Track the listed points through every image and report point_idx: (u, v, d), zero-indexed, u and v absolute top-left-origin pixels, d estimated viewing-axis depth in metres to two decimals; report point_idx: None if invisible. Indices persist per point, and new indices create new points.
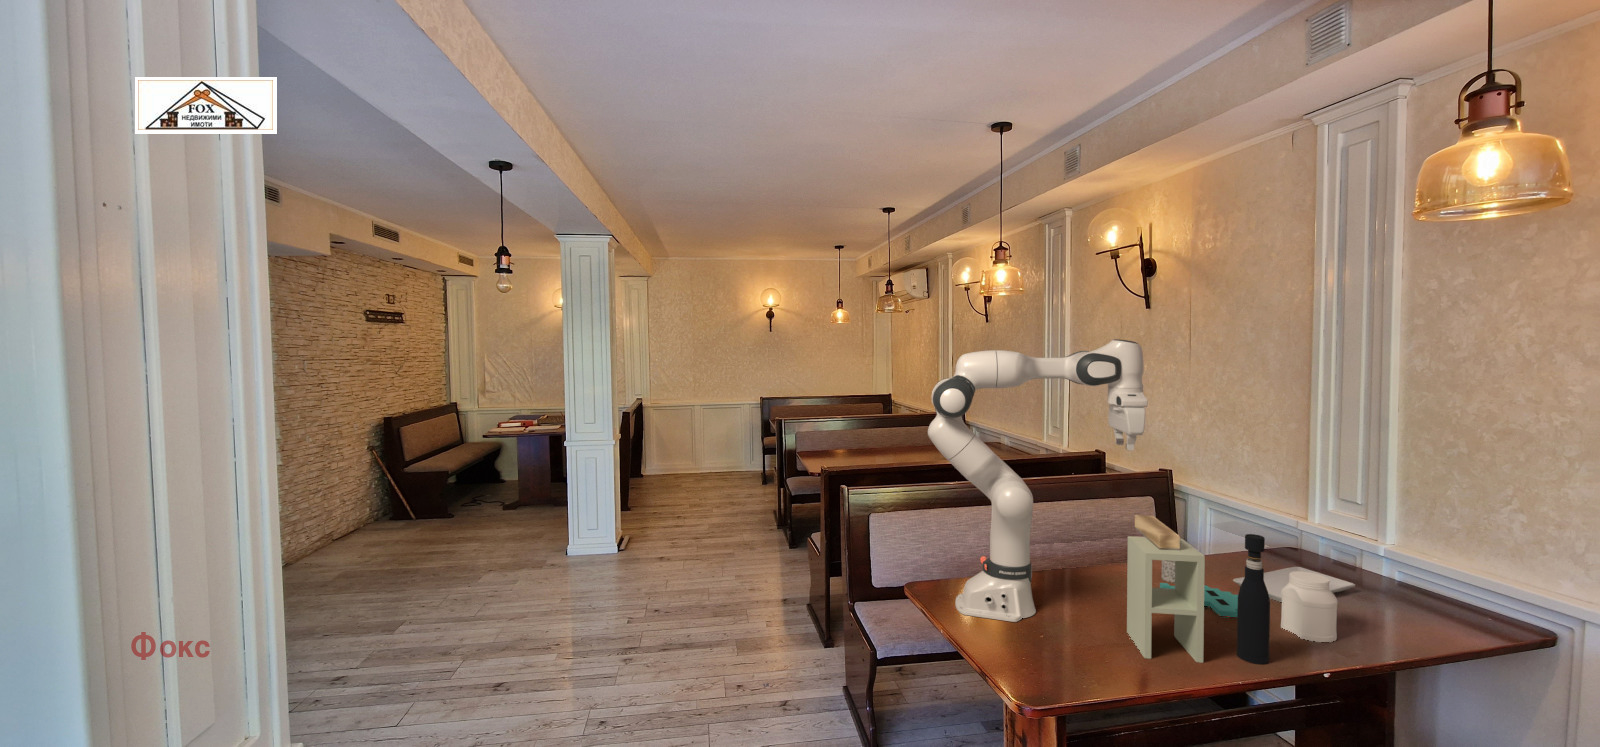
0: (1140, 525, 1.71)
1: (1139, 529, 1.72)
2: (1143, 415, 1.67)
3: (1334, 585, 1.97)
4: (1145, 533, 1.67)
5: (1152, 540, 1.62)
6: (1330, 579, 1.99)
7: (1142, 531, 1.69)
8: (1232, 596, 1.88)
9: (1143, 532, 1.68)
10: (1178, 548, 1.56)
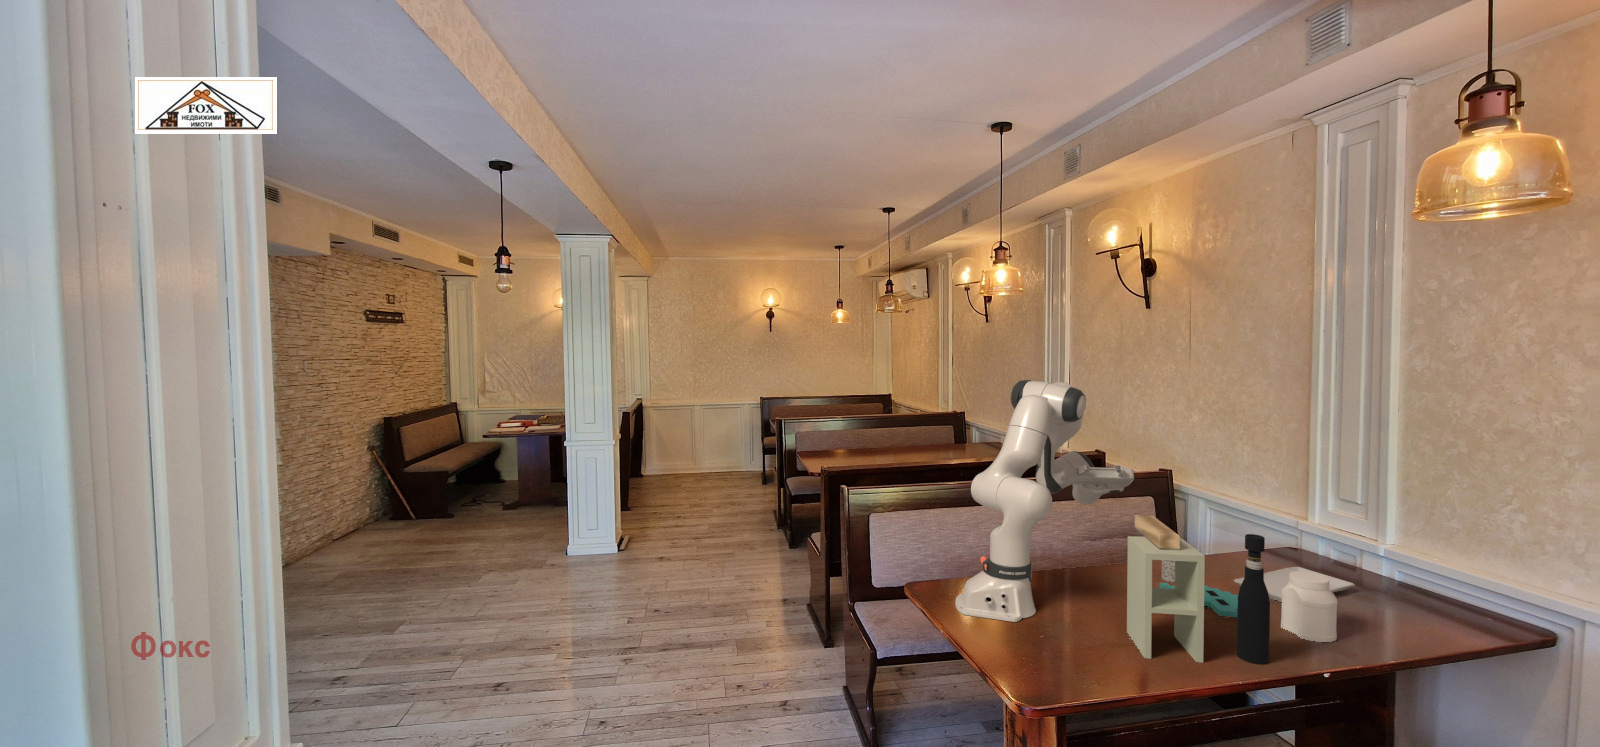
0: (1140, 525, 1.71)
1: (1139, 529, 1.72)
2: None
3: (1333, 584, 1.97)
4: (1145, 533, 1.67)
5: (1152, 540, 1.62)
6: (1329, 579, 1.99)
7: (1142, 531, 1.69)
8: (1232, 596, 1.88)
9: (1143, 532, 1.68)
10: (1178, 548, 1.56)
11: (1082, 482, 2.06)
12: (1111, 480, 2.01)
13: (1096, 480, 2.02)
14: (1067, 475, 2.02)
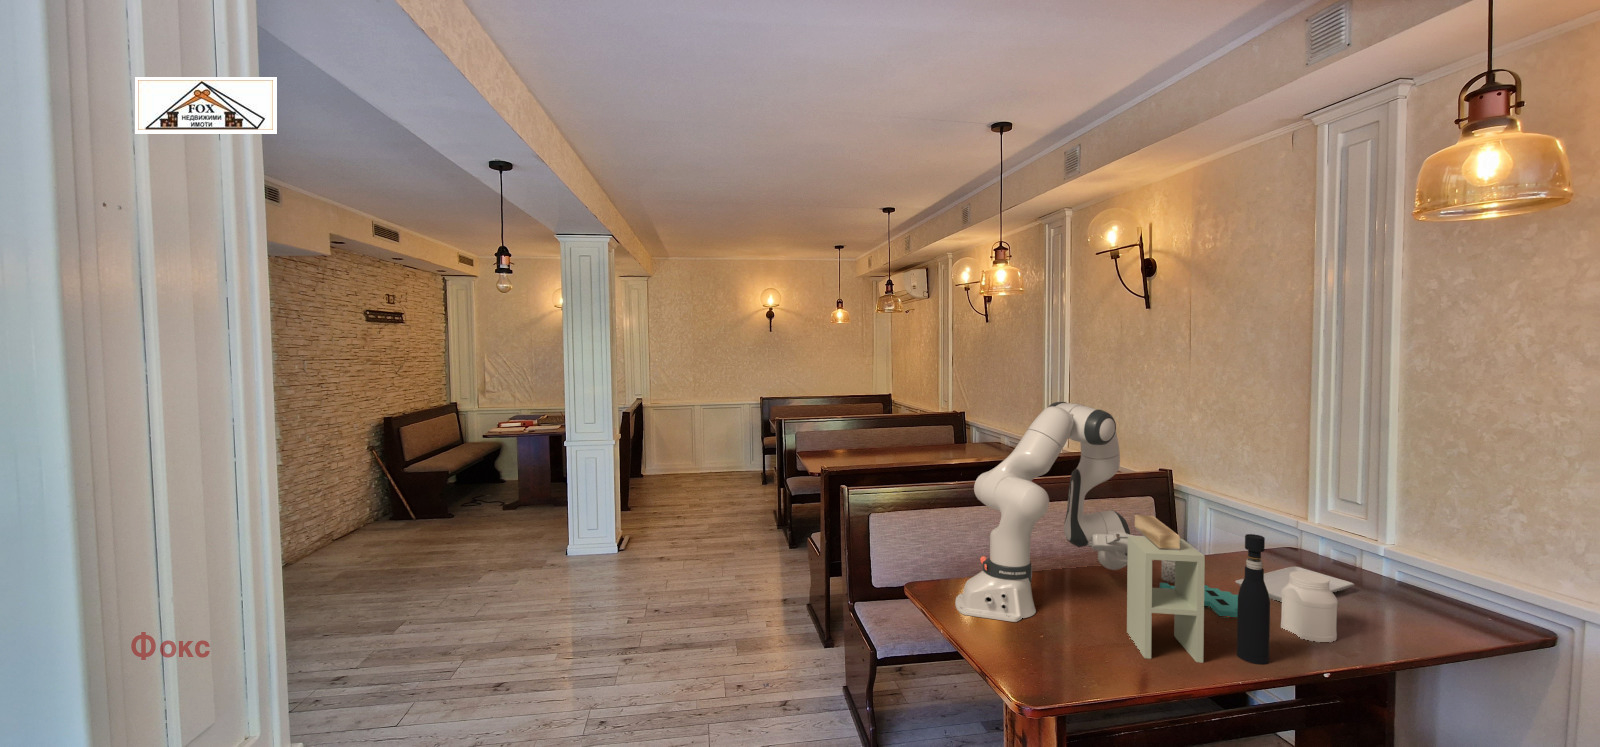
0: (1140, 525, 1.71)
1: (1139, 529, 1.72)
2: None
3: (1332, 584, 1.97)
4: (1145, 533, 1.67)
5: (1152, 540, 1.62)
6: (1328, 578, 1.99)
7: (1142, 531, 1.69)
8: (1232, 596, 1.88)
9: (1143, 532, 1.68)
10: (1178, 548, 1.56)
11: (1110, 550, 1.91)
12: None
13: (1126, 548, 1.88)
14: (1095, 543, 1.88)
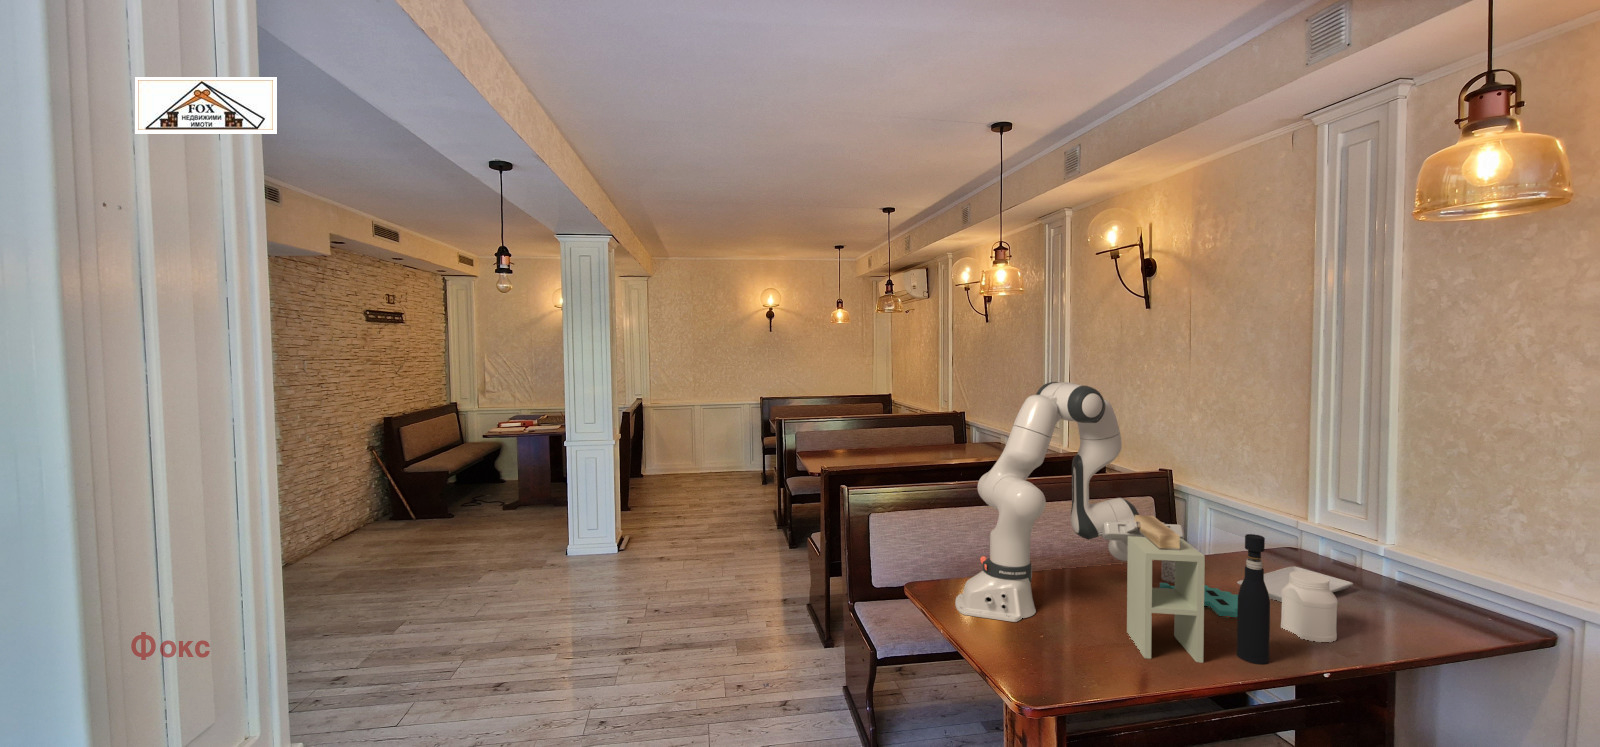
0: None
1: (1139, 529, 1.72)
2: None
3: (1332, 584, 1.98)
4: (1145, 533, 1.67)
5: (1152, 540, 1.62)
6: None
7: (1142, 531, 1.69)
8: (1232, 596, 1.88)
9: (1143, 532, 1.68)
10: (1178, 548, 1.56)
11: (1123, 539, 1.79)
12: None
13: None
14: (1106, 532, 1.76)
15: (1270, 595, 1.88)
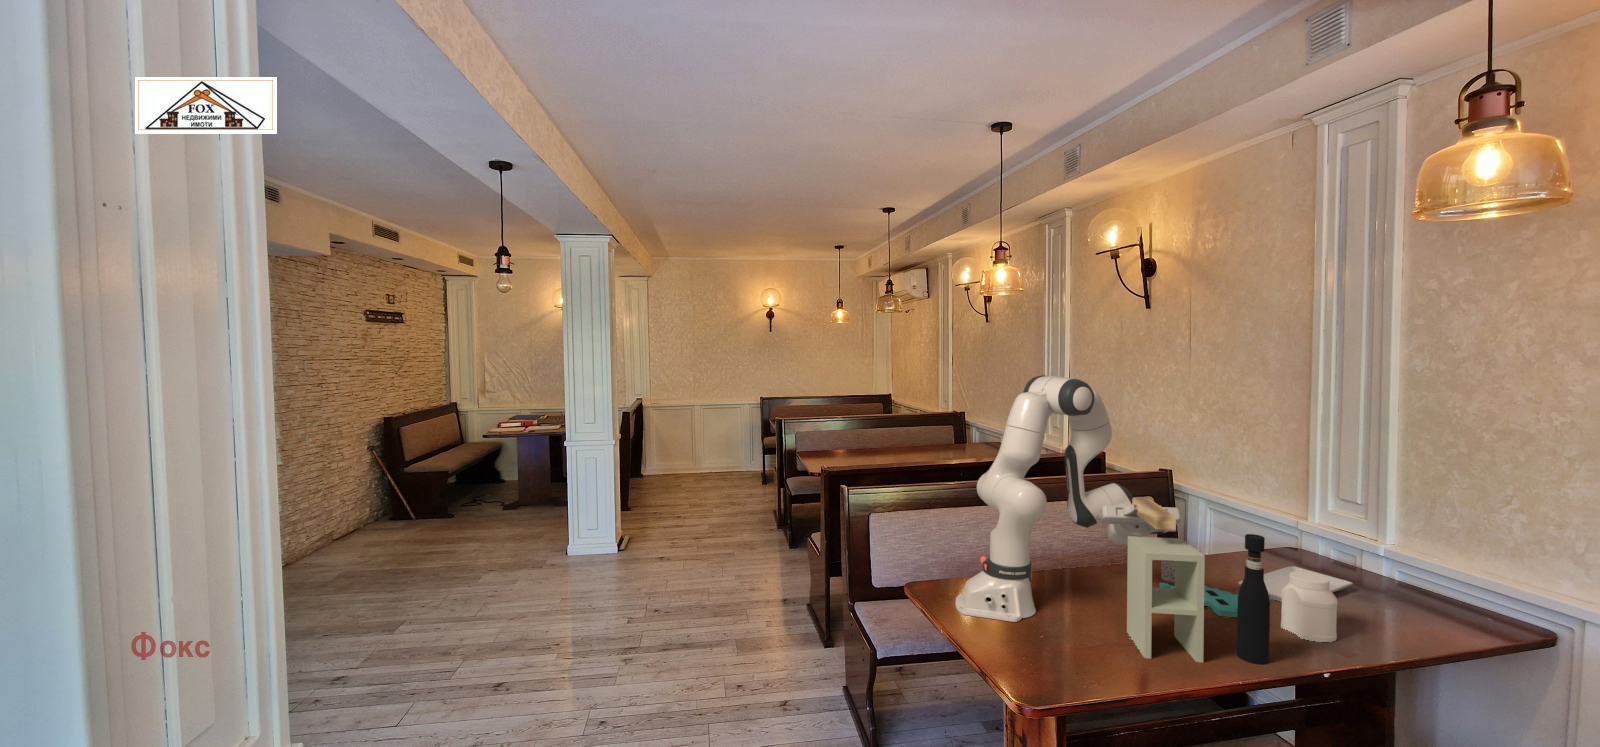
0: None
1: (1136, 512, 1.74)
2: None
3: (1331, 584, 1.98)
4: (1142, 515, 1.69)
5: (1149, 522, 1.64)
6: None
7: (1139, 514, 1.71)
8: (1232, 596, 1.88)
9: (1140, 515, 1.71)
10: (1174, 529, 1.58)
11: (1121, 522, 1.81)
12: None
13: (1137, 520, 1.78)
14: (1104, 515, 1.78)
15: (1271, 595, 1.87)
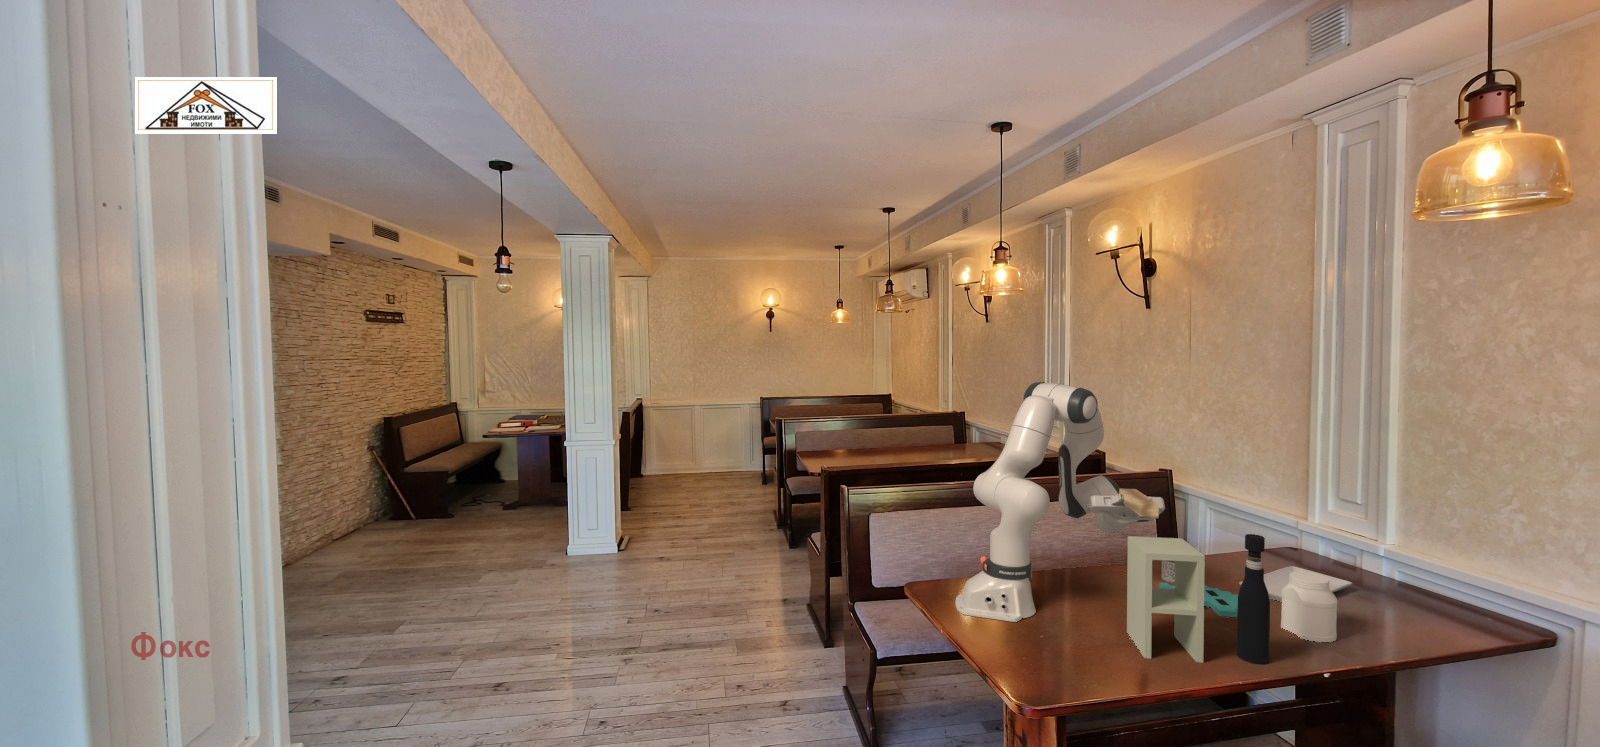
0: None
1: (1123, 501, 1.86)
2: None
3: (1331, 583, 1.98)
4: (1128, 504, 1.81)
5: (1134, 510, 1.76)
6: None
7: (1125, 503, 1.83)
8: (1232, 596, 1.88)
9: (1126, 504, 1.83)
10: (1157, 516, 1.70)
11: (1108, 511, 1.93)
12: None
13: (1124, 509, 1.90)
14: (1093, 504, 1.90)
15: (1273, 596, 1.87)
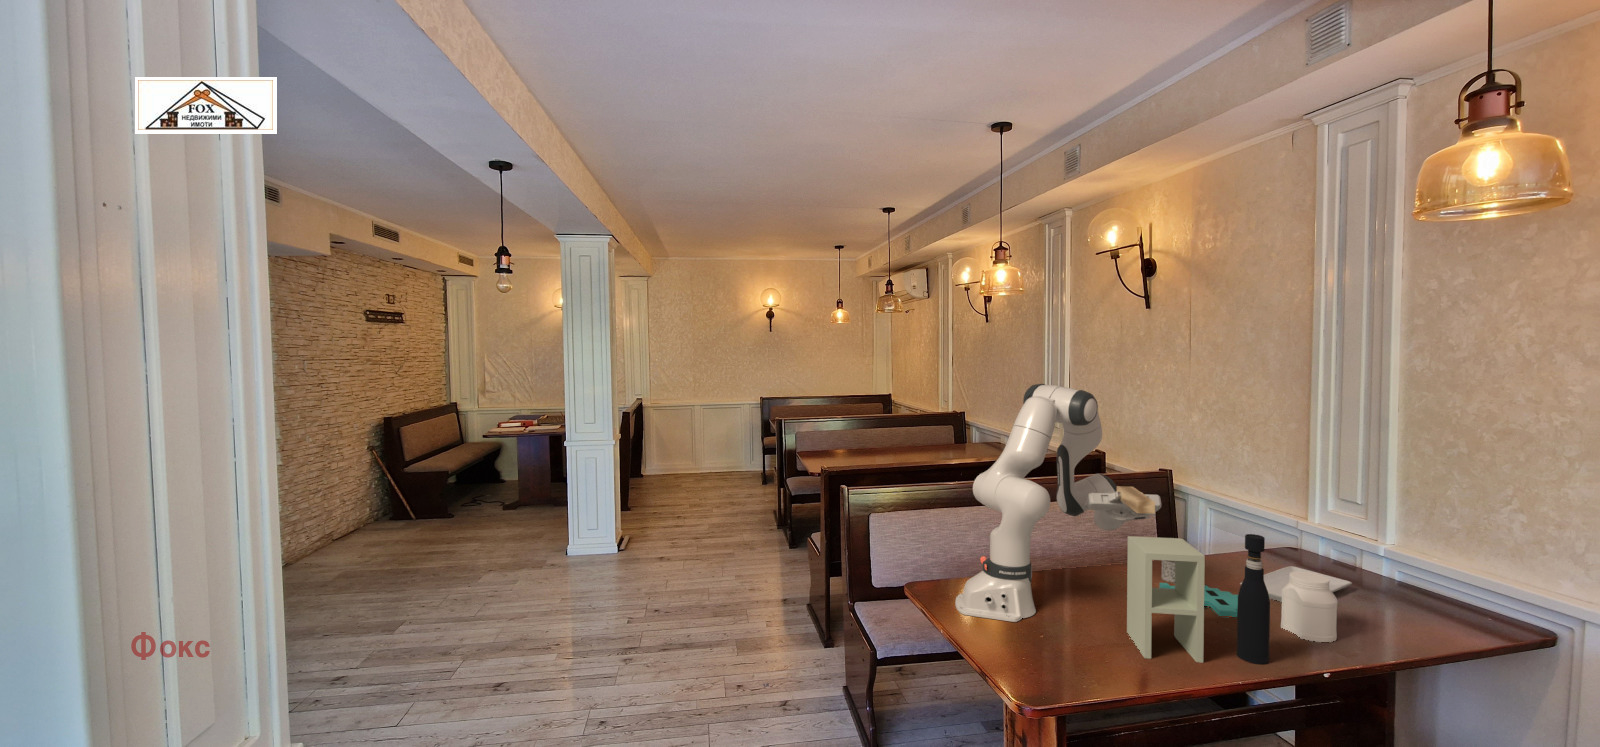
0: None
1: None
2: None
3: (1330, 583, 1.98)
4: (1125, 501, 1.84)
5: (1131, 507, 1.79)
6: None
7: (1122, 500, 1.86)
8: (1232, 596, 1.88)
9: (1124, 501, 1.85)
10: (1154, 513, 1.73)
11: (1106, 509, 1.96)
12: None
13: (1121, 506, 1.92)
14: (1091, 502, 1.93)
15: (1274, 596, 1.87)
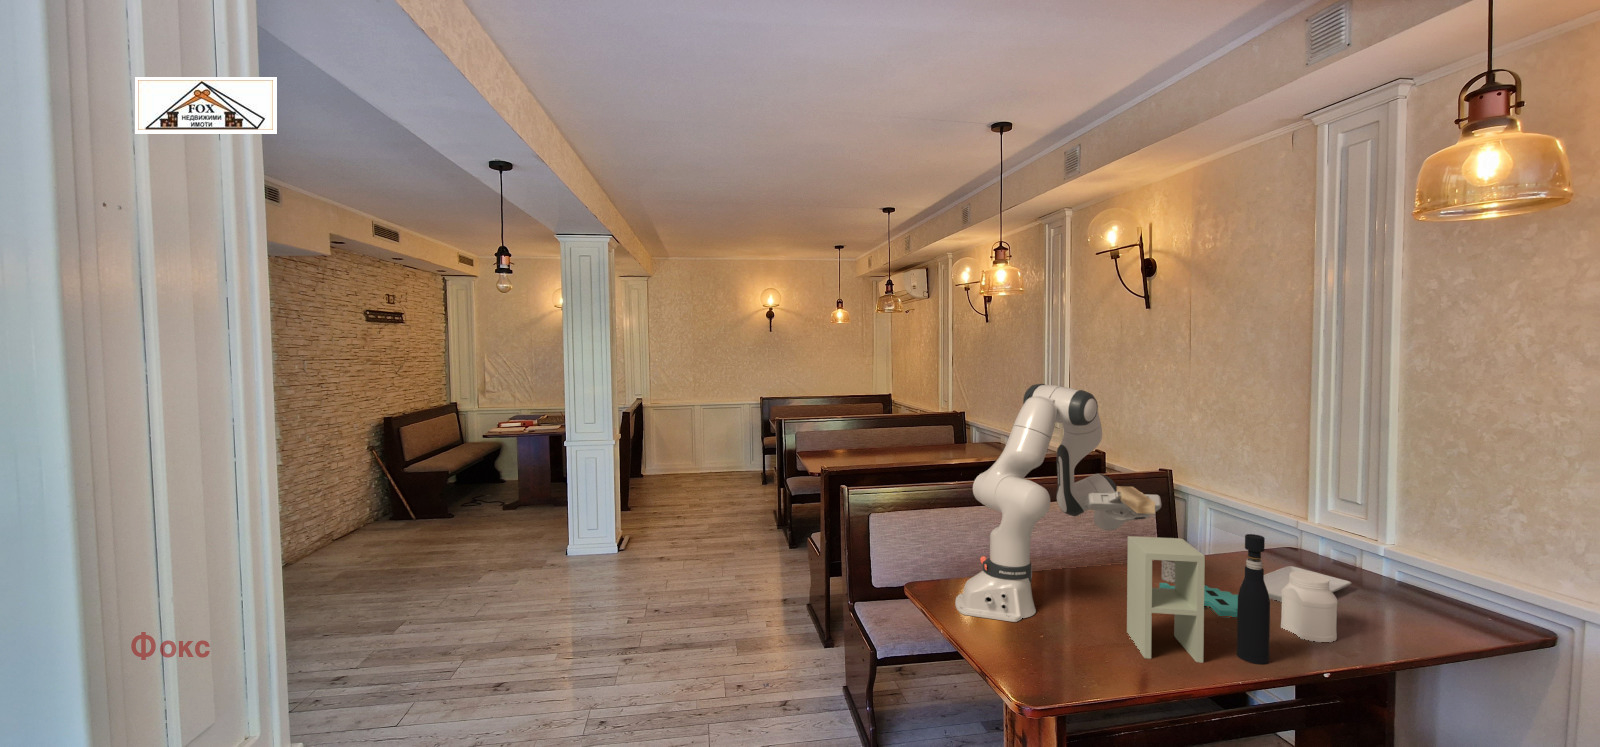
0: None
1: None
2: None
3: (1330, 583, 1.98)
4: (1125, 501, 1.84)
5: (1131, 507, 1.79)
6: None
7: (1122, 500, 1.86)
8: (1232, 596, 1.88)
9: (1123, 501, 1.85)
10: (1154, 513, 1.73)
11: (1106, 509, 1.96)
12: None
13: (1121, 506, 1.92)
14: (1091, 502, 1.93)
15: (1275, 597, 1.86)
